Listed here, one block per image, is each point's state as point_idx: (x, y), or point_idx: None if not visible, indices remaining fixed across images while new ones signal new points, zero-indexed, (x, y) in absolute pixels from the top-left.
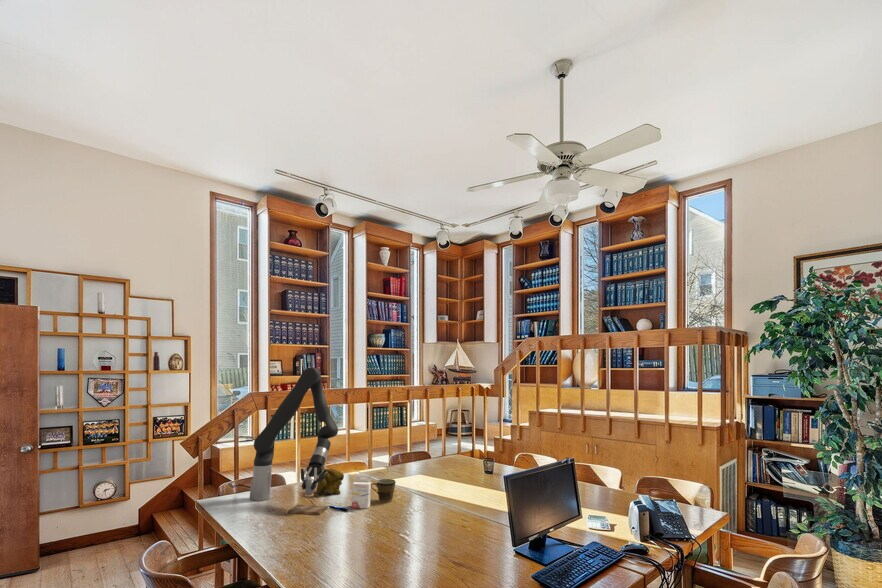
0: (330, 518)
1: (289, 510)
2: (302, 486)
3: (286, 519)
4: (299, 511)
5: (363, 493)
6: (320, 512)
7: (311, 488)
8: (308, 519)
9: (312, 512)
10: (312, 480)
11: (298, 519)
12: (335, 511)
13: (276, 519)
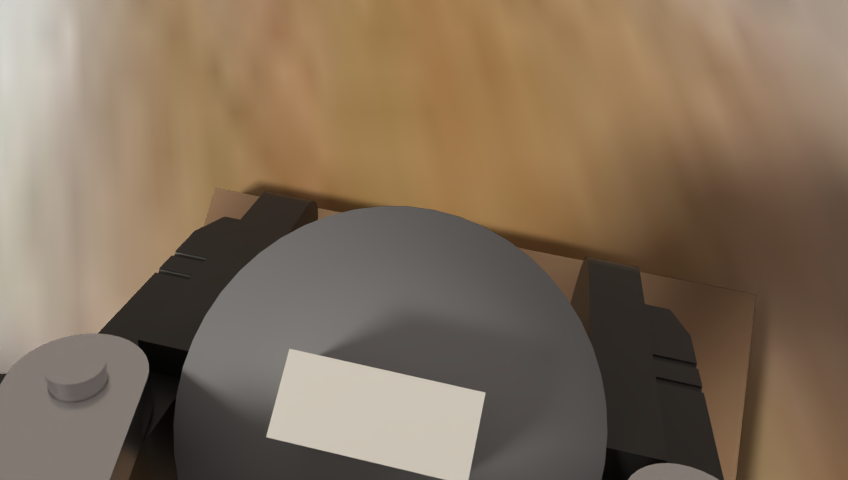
0: (71, 57)
1: (728, 290)
2: (637, 276)
3: (654, 16)
4: (548, 255)
5: None
6: (212, 217)
7: (309, 221)
8: (355, 18)
9: (333, 212)
10: (238, 340)
11: (489, 17)
12: (7, 371)
13: (794, 15)
